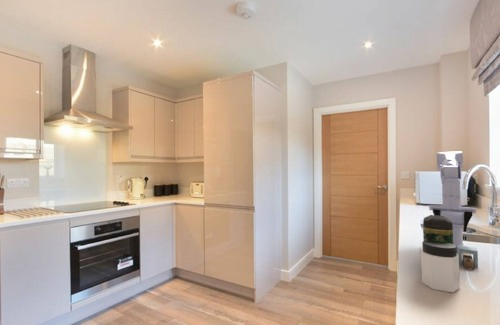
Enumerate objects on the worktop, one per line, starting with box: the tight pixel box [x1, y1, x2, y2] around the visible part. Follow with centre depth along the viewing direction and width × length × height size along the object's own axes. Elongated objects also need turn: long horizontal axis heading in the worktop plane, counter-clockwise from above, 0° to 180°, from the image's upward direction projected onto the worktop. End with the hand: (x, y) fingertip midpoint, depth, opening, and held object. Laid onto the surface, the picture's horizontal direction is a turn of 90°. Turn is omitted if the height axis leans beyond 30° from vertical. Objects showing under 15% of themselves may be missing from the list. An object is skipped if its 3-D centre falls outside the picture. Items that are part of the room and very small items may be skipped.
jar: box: [420, 240, 461, 294], centre depth 75 cm, size 9×8×12 cm
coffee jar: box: [422, 214, 453, 244], centre depth 84 cm, size 10×8×19 cm
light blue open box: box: [457, 245, 479, 268], centre depth 93 cm, size 5×5×6 cm
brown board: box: [462, 253, 475, 270], centre depth 92 cm, size 12×2×3 cm, turn 143°
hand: (452, 229), depth 102 cm, fingers open, 7 cm apart
